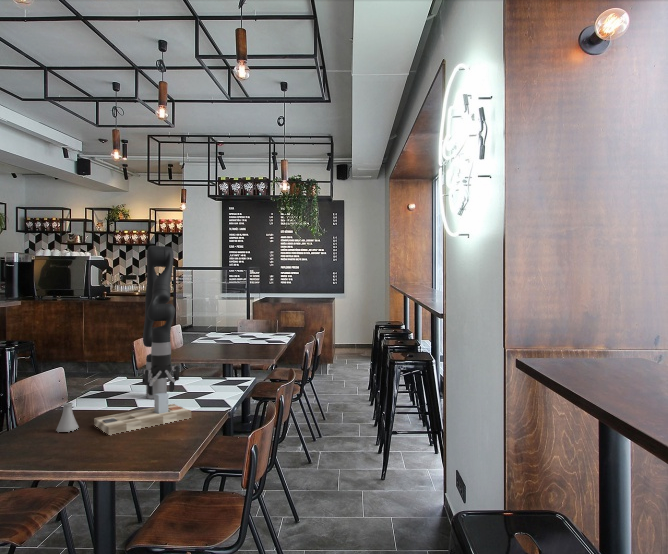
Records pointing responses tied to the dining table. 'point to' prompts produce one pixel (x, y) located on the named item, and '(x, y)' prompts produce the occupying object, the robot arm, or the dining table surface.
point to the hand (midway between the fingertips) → (161, 393)
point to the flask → (67, 419)
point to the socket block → (140, 419)
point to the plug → (160, 403)
